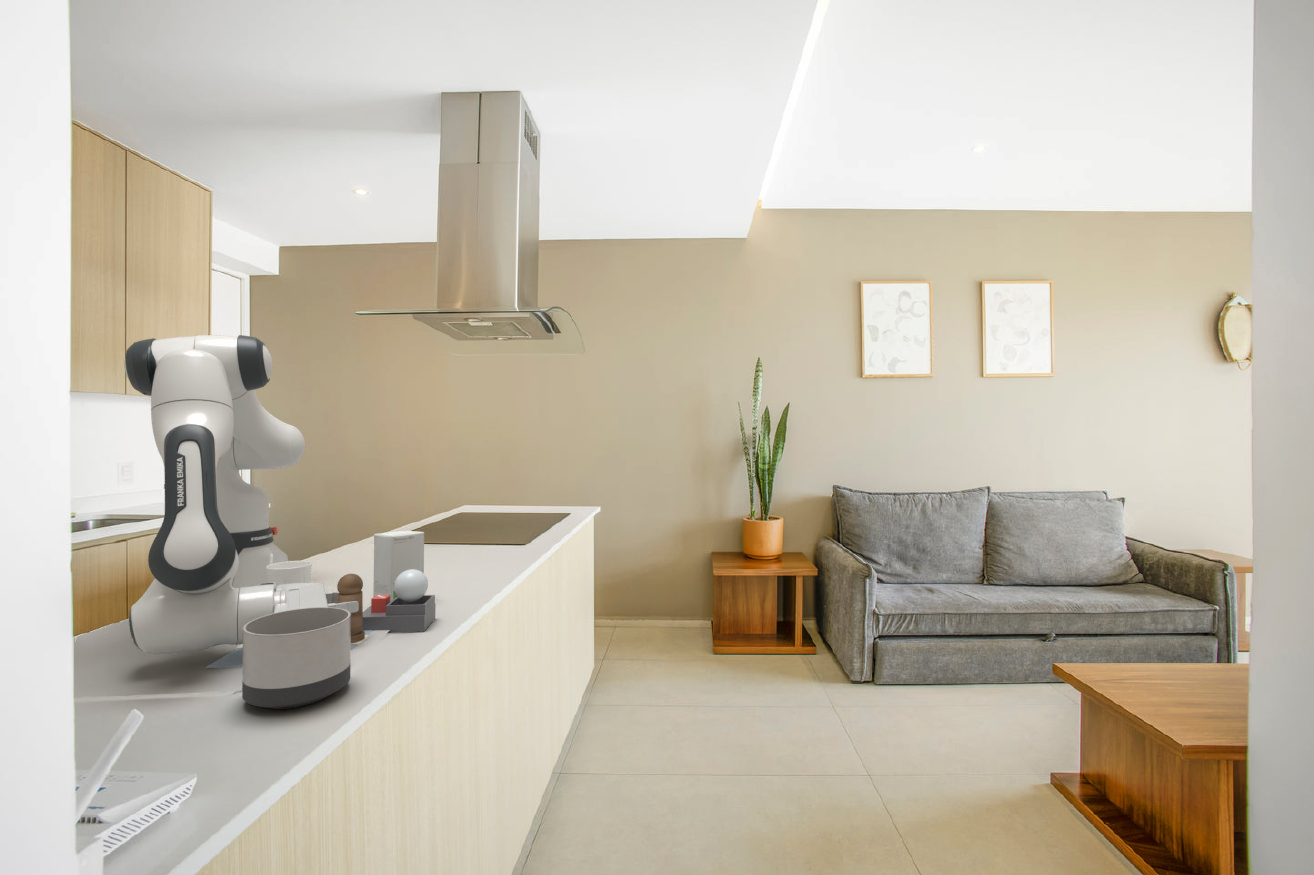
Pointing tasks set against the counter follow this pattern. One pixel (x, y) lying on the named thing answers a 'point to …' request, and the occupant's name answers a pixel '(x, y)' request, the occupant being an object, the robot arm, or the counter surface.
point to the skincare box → (396, 558)
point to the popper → (399, 614)
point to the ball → (411, 585)
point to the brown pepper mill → (351, 590)
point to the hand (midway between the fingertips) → (356, 601)
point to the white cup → (289, 572)
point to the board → (236, 656)
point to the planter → (296, 656)
